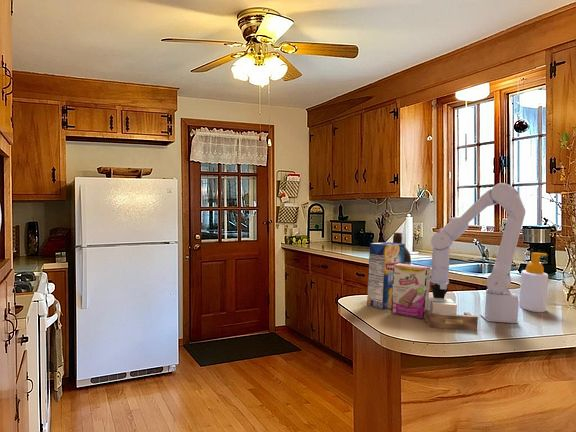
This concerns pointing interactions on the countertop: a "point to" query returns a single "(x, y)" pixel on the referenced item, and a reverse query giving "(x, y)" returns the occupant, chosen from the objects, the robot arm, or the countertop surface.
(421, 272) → the candy bar box
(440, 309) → the carton
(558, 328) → the countertop surface
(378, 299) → the beverage box
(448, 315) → the display stand
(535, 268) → the soap bottle
